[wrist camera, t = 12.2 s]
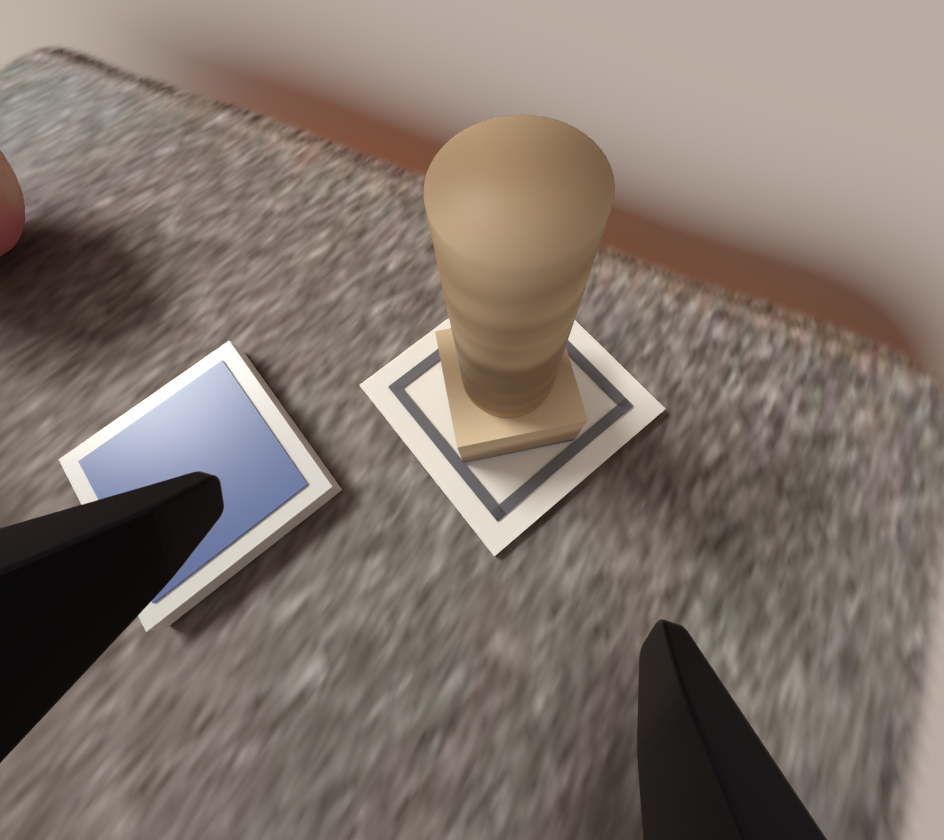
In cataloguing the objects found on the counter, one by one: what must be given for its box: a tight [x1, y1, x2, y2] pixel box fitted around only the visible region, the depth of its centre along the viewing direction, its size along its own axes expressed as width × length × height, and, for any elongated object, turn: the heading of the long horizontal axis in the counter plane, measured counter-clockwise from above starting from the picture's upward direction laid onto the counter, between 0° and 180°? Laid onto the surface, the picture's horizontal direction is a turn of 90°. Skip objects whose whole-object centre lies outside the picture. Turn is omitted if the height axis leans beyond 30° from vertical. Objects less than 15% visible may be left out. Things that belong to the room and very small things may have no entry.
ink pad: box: [59, 341, 342, 632], centre depth 19 cm, size 9×9×1 cm
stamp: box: [424, 115, 615, 463], centre depth 14 cm, size 5×5×12 cm
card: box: [360, 318, 665, 556], centre depth 20 cm, size 10×10×1 cm
